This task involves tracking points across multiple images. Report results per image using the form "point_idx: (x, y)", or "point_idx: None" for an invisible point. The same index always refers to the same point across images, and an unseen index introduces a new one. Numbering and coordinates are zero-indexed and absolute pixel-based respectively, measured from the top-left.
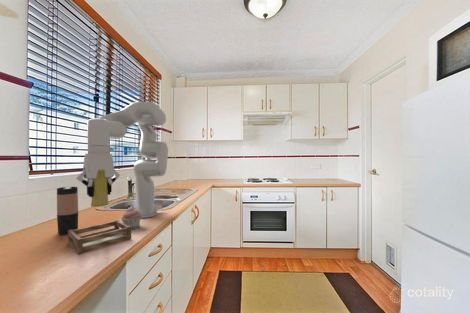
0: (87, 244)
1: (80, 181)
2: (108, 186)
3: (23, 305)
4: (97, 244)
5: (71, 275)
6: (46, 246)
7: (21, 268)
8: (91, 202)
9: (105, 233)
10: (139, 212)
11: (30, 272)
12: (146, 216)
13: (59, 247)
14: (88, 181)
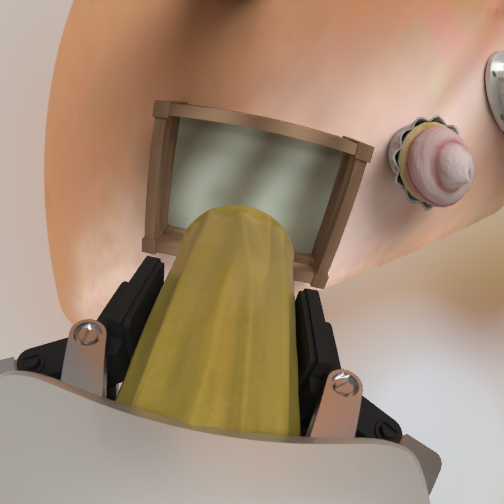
0: (198, 195)
1: (15, 361)
2: None
3: None
4: None
5: None
6: (126, 71)
7: (63, 196)
8: (183, 241)
9: None
10: (460, 198)
11: (74, 234)
12: (501, 125)
13: (144, 116)
14: (81, 378)
